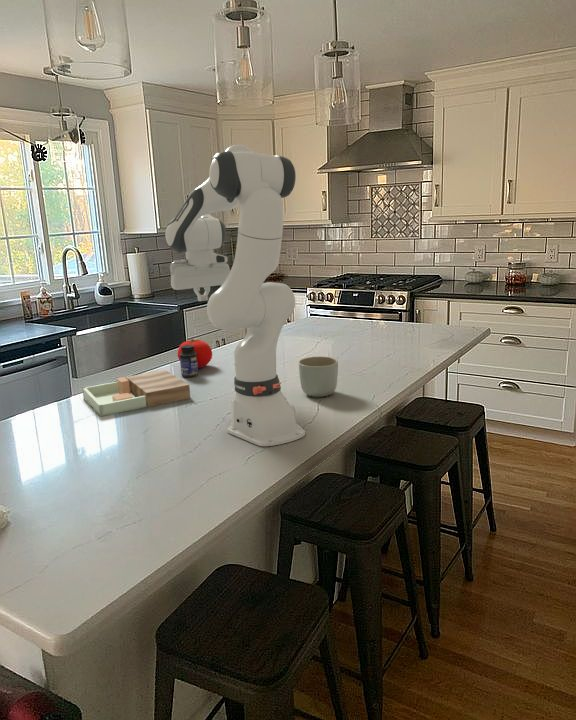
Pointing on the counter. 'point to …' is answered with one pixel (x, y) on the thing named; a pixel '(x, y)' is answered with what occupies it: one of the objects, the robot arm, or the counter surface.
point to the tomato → (199, 351)
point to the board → (158, 387)
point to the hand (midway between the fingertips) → (202, 300)
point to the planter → (318, 375)
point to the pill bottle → (188, 361)
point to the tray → (110, 399)
